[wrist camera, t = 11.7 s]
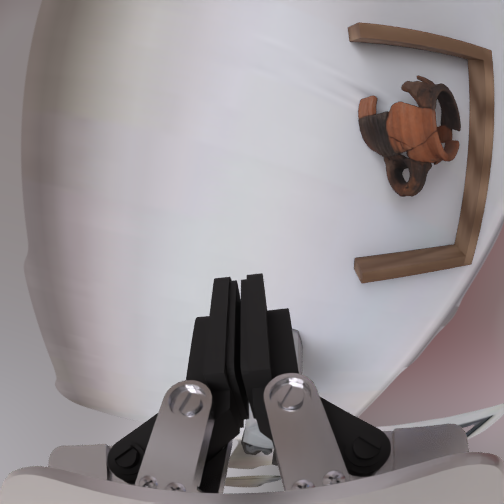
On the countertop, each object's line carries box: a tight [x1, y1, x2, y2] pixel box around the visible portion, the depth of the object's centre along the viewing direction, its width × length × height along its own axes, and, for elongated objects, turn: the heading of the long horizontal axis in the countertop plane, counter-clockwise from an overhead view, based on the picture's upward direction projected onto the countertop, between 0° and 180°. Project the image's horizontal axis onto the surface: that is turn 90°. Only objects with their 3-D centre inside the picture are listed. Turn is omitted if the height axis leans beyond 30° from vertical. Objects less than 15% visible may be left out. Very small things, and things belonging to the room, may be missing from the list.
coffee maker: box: [241, 329, 302, 466], centre depth 34 cm, size 15×9×18 cm, turn 152°
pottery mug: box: [358, 76, 461, 197], centre depth 25 cm, size 12×10×8 cm
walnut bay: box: [348, 23, 494, 283], centre depth 27 cm, size 27×16×3 cm, turn 7°
